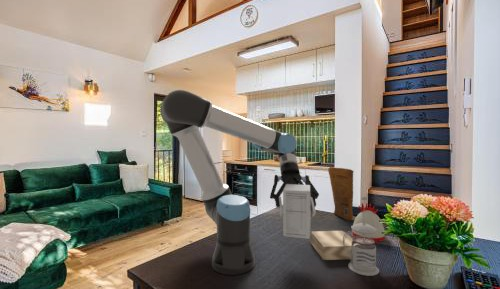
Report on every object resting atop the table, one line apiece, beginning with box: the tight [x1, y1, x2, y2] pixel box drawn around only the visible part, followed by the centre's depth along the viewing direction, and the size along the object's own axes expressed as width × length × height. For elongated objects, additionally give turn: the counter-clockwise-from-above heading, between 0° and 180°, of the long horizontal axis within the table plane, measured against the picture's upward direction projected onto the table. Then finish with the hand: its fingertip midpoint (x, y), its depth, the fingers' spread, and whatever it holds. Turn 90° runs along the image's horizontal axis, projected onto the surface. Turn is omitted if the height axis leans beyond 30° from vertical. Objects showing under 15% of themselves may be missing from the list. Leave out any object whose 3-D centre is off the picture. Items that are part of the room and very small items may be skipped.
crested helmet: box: [351, 202, 386, 243], centre depth 116 cm, size 14×14×15 cm
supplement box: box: [282, 184, 312, 239], centre depth 91 cm, size 10×9×17 cm
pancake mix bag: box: [327, 166, 354, 221], centre depth 144 cm, size 7×19×28 cm, turn 17°
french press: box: [343, 195, 380, 277], centre depth 87 cm, size 10×12×25 cm
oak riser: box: [310, 230, 361, 261], centre depth 100 cm, size 14×15×5 cm
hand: (297, 214), depth 90 cm, fingers closed on supplement box, 11 cm apart
